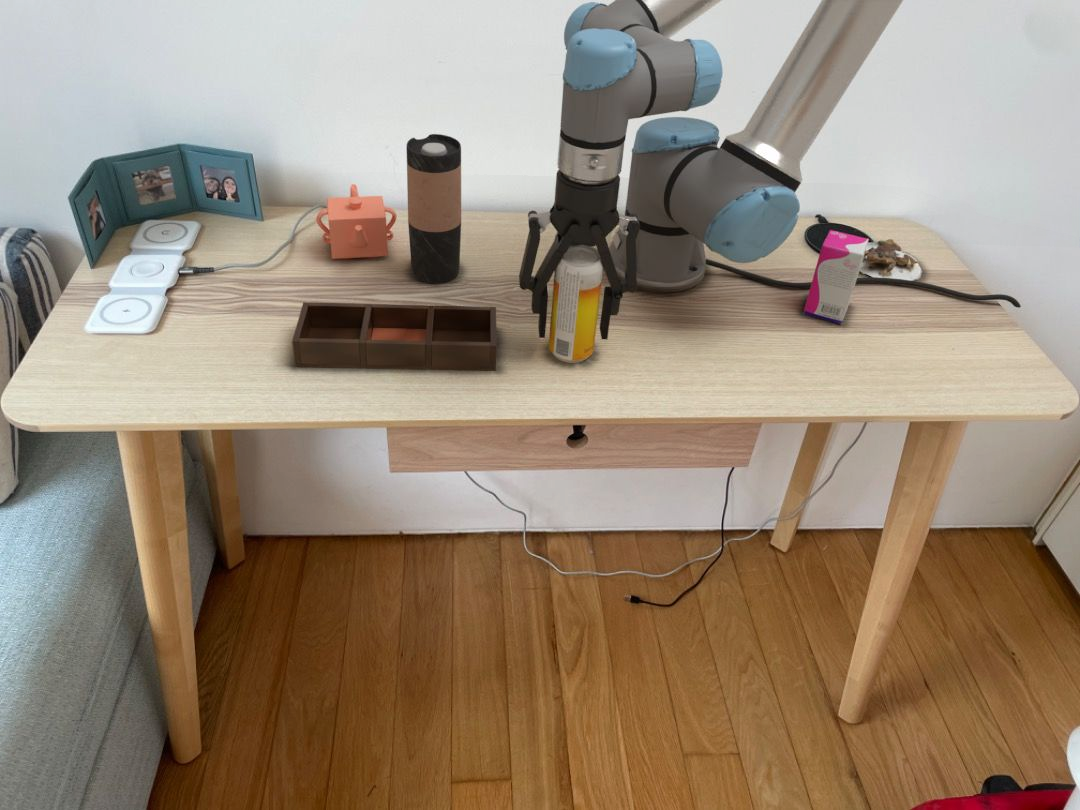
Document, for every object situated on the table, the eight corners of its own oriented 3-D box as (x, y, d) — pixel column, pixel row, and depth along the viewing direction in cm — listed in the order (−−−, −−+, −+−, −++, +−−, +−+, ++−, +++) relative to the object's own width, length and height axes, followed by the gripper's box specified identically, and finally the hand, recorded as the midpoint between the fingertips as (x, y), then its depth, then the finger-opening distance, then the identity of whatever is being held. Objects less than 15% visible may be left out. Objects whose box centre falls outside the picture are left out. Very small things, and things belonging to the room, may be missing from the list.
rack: (495, 331, 125) (496, 306, 122) (495, 370, 118) (496, 345, 115) (306, 326, 123) (303, 302, 120) (295, 367, 116) (291, 341, 113)
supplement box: (848, 306, 136) (870, 238, 128) (841, 325, 131) (863, 256, 124) (810, 295, 137) (830, 227, 130) (801, 314, 133) (821, 245, 126)
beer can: (598, 345, 124) (610, 248, 114) (585, 369, 119) (596, 271, 110) (556, 334, 125) (564, 238, 116) (542, 358, 121) (549, 260, 111)
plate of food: (895, 291, 140) (903, 270, 137) (832, 258, 147) (838, 237, 144) (936, 270, 146) (944, 249, 143) (873, 239, 153) (880, 219, 150)
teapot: (321, 276, 133) (315, 225, 128) (318, 227, 144) (313, 179, 139) (402, 272, 135) (400, 221, 130) (393, 224, 147) (391, 176, 141)
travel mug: (452, 288, 133) (453, 159, 120) (403, 280, 134) (397, 151, 121) (466, 263, 139) (468, 137, 126) (418, 255, 140) (415, 130, 127)
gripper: (501, 182, 102) (495, 347, 116) (680, 189, 104) (652, 351, 118) (501, 155, 108) (495, 315, 122) (669, 161, 109) (644, 319, 124)
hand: (572, 332), depth 120 cm, fingers open, 8 cm apart
